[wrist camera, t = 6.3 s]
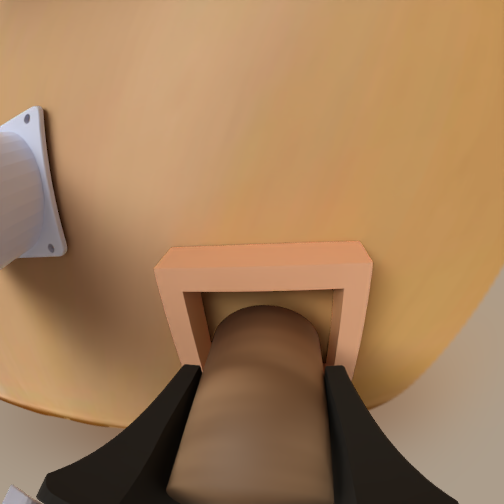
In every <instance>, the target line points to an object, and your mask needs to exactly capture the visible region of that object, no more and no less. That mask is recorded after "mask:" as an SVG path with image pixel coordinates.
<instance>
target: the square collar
mask: <svg viewBox="0 0 504 504" xmlns="http://www.w3.org/2000/svg"><path fill="white" fill-rule="evenodd" d="M372 267H373V262H372V260H371V258H370V257H369V255H368V253H367V252H366V250H365V249H364V247H363V246H362V244H361V242H360V241H341V242H308V243H277V244H247V245H220V246H193V247H171V248H170V249H169V250H168V252H167V253H166V254H165V255H164V256H163V258H162V259H161V260H160V261H159V262H158V264H157V265H156V266H155V267H154V268H153V269H154V273H155V277H156V281H157V285H158V289H159V293H160V296H161V300H162V304H163V307H164V311H165V314H166V318H167V321H168V325H169V328H170V331H171V334H172V338H173V341H174V344H175V347H176V350H177V353H178V356H179V359H180V362H181V365H182V366H183V365H184V364H189V365H200V367H201V370H202V372H203V369H204V366H205V363H206V360H207V357H208V353H209V350H210V347H211V340H210V335H209V331H208V326H207V321H206V316H205V311H204V306H203V301H202V296H201V292H239V291H290V290H319V289H334V292H333V305H332V316H331V326H330V335H329V344H328V352H327V360H326V363H322V364H323V372H324V374H325V366H336V365H343V366H344V367H345V369H346V371H347V374H348V376H349V378H350V380H351V382H352V378H353V374H354V370H355V365H356V361H357V356H358V352H359V347H360V342H361V337H362V332H363V327H364V321H365V316H366V310H367V303H368V297H369V290H370V283H371V276H372Z"/></svg>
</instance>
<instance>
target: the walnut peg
mask: <svg viewBox="0 0 504 504" xmlns="http://www.w3.org/2000/svg"><path fill="white" fill-rule="evenodd" d="M166 492H167V494H168V495H169V496H170V497H171V498H172V499H174V500H175V501H177V502H178V503H180V504H334V488H333V470H332V454H331V441H330V429H329V418H328V408H327V398H326V389H325V380H324V372H323V364H322V356H321V348H320V341H319V336H318V334H317V332H316V330H315V328H314V327H313V325H312V324H311V323H310V322H309V321H308V320H307V319H306V318H304V317H303V316H301V315H300V314H298V313H296V312H294V311H292V310H289V309H286V308H282V307H278V306H270V305H259V306H251V307H247V308H243V309H240V310H238V311H236V312H234V313H232V314H230V315H229V316H228V317H226V318H225V319H224V320H223V321H222V322H221V323H220V325H219V326H218V328H217V330H216V332H215V335H214V338H213V341H212V344H211V347H210V350H209V353H208V357H207V360H206V363H205V366H204V369H203V372H202V375H201V379H200V382H199V385H198V388H197V391H196V394H195V398H194V401H193V404H192V407H191V410H190V413H189V417H188V420H187V423H186V426H185V430H184V433H183V436H182V439H181V442H180V446H179V449H178V452H177V455H176V459H175V462H174V465H173V469H172V472H171V475H170V478H169V482H168V485H167V488H166Z"/></svg>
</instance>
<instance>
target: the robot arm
mask: <svg viewBox="0 0 504 504" xmlns="http://www.w3.org/2000/svg"><path fill="white" fill-rule="evenodd" d="M29 118H30V121H29ZM52 245H53V246H52ZM53 247H54V248H53ZM66 252H67V244H66V240H65V237H64V233H63V229H62V226H61V222H60V218H59V213H58V209H57V205H56V200H55V195H54V190H53V185H52V180H51V174H50V168H49V161H48V154H47V146H46V138H45V127H44V114H43V109H42V107H41V106H33V107H31V108H29V109H28V110H26V111H24V112H22V113H21V114H19V115H17V116H16V117H14V118H13V119H11V120H9V121H8V122H6V123H5V124H3V125H2V126H0V270H1V269H2V268H4V267H5V266H6V265H8V264H9V263H11V262H12V261H13V260H15V259H16V258H31V257H58V256H62V255H64V254H65V253H66ZM201 375H202V370H201V367H200V365H189V364H184V365H183V366H182V368H181V369H180V370H179V371H178V373H177V374H176V375H175V376H174V378H173V379H172V380H171V381H170V382H169V384H168V385H167V386H166V387H165V388H164V390H163V391H162V392H161V393H160V394H159V395H158V397H157V398H156V399H155V400H154V401H153V402H152V403H151V404H150V405H149V407H148V408H147V409H146V410H145V411H144V412H143V413H142V414H141V415H140V416H139V417H138V418H137V419H136V420H135V421H134V422H132V423H131V424H130V425H129V426H128V427H127V428H126V429H125V430H123V431H122V432H121V433H120V434H118V436H116V437H115V438H113V439H112V440H111V441H109V442H108V443H106V444H105V445H104V446H102V447H101V448H99V449H98V450H96V451H95V452H93V453H91V454H90V455H88V456H86V457H84V458H82V459H80V460H79V461H77V462H75V463H73V464H71V465H68V466H66V467H64V468H61V469H58V470H56V471H54V472H51V473H48V474H47V475H46V477H45V479H44V482H43V483H42V486H41V488H40V490H39V492H38V494H37V496H36V497H37V499H38V500H39V501H41V502H42V503H44V504H180V503H178V502H177V501H175V500H174V499H172V498H171V497H170V496H169V495H168V494H167V492H166V488H167V485H168V482H169V478H170V475H171V472H172V469H173V465H174V462H175V459H176V455H177V452H178V449H179V446H180V442H181V439H182V436H183V433H184V430H185V426H186V423H187V420H188V417H189V413H190V410H191V407H192V404H193V401H194V398H195V394H196V391H197V388H198V385H199V382H200V379H201ZM324 380H325V389H326V398H327V408H328V418H329V429H330V441H331V454H332V470H333V488H334V504H459V503H458V501H456V500H455V499H453V498H452V497H450V496H449V495H447V494H446V493H444V492H443V491H442V490H440V489H439V488H438V487H436V486H435V485H434V484H432V483H431V482H430V481H429V480H427V479H426V478H425V477H424V476H423V475H422V474H421V473H420V472H419V471H418V470H416V469H415V468H414V467H413V466H412V465H411V464H410V463H409V462H408V461H407V460H406V459H405V458H404V457H403V456H402V455H401V454H400V452H399V451H398V450H397V449H396V448H395V447H394V446H393V444H392V443H391V442H390V441H389V439H388V438H387V437H386V436H385V435H384V433H383V432H382V430H381V429H380V427H379V426H378V425H377V423H376V422H375V420H374V419H373V417H372V416H371V414H370V413H369V411H368V410H367V408H366V406H365V405H364V403H363V402H362V400H361V398H360V396H359V395H358V393H357V391H356V389H355V387H354V386H353V384H352V382H351V380H350V378H349V376H348V374H347V371H346V369H345V367H344V366H343V365H336V366H325V374H324ZM42 503H40V502H38V501H37V500H34V499H33V498H31V497H29V496H28V495H27V494H25V493H24V492H23V491H21V490H20V489H19V488H17V487H15V486H14V485H11V486H10V488H9V490H8V492H7V494H6V496H5V499H4V501H3V503H2V504H42Z"/></svg>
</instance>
